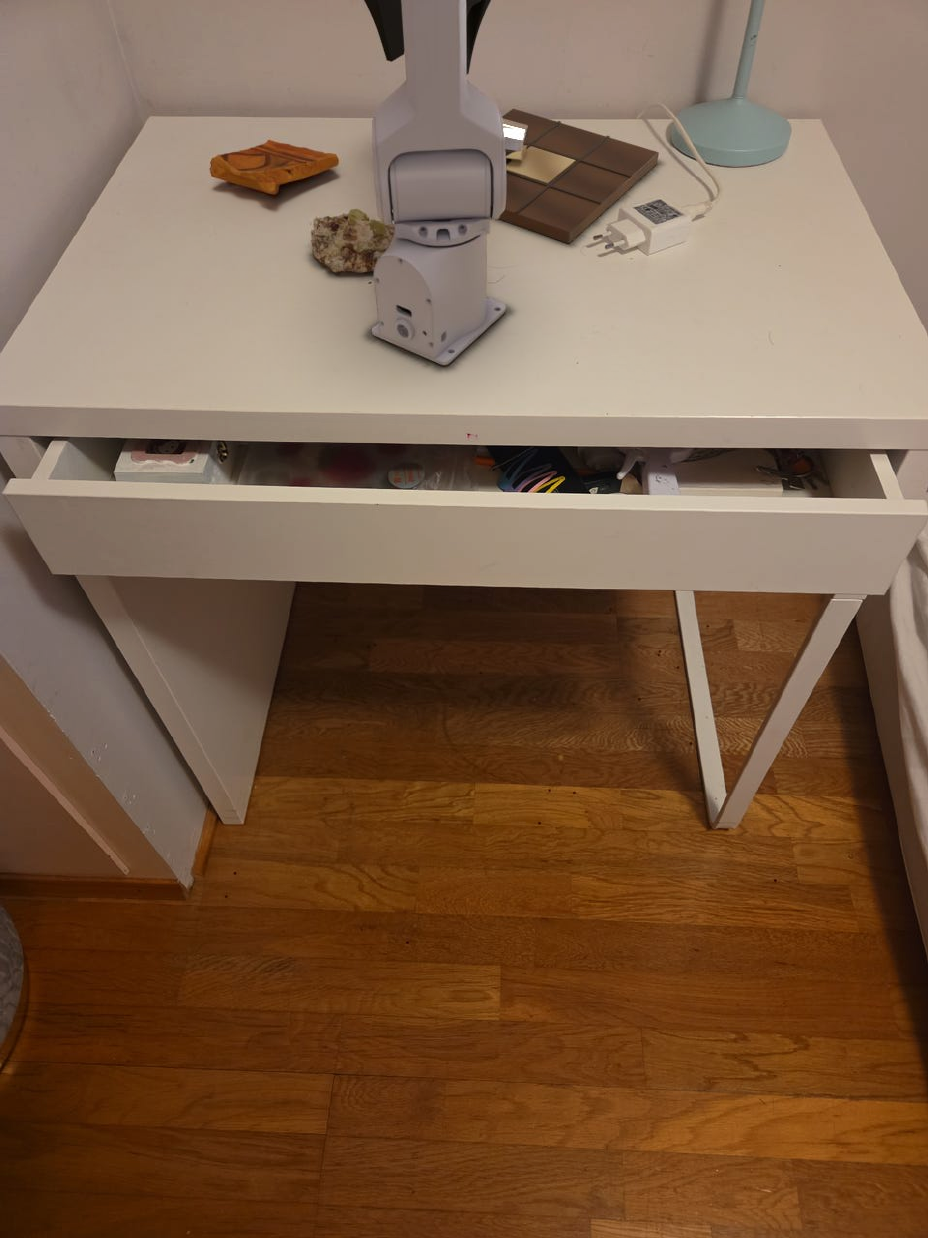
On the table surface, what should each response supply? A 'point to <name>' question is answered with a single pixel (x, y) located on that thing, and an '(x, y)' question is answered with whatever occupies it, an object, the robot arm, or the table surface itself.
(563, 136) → the board
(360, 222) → the mineral rock
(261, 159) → the pottery fragment
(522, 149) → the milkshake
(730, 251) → the table surface
